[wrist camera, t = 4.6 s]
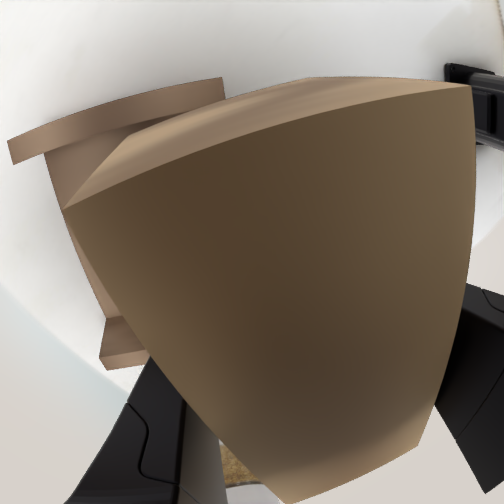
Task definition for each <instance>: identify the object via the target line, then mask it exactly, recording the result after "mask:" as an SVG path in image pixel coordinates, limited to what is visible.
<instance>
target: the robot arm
mask: <svg viewBox="0 0 504 504" xmlns="http://www.w3.org/2000/svg"><path fill="white" fill-rule="evenodd" d="M451 68H452V71H451ZM445 70H446V82H449V83H457V84H464V85H470V86H471V89H472V98H473V109H474V122H475V140H476V145H484V144H485V145H488V146H491V147H493V148H496V149H499V150H501V151H504V77H503V76H497V75H495V73H494V72H491V71H487V70H483V69H479V68H474V67H469V66H464V65H459V64H454V63H447V64H446V67H445ZM434 405H435V407H436V409H437V410H438V412H439V414H440V415H441V417H442V419H443V420H444V422H445V424H446V425H447V427H448V429H449V430H450V432H451V433H452V436H453V437H454V439H455V440H456V443H457V444H458V446H459V448H460V450H461V452H462V453H463V455H464V457H465V459H466V461H467V462H468V464H469V466H470V468H471V470H472V471H473V473H474V475H475V477H476V479H477V481H478V483H479V484H480V486H481V488H482V490H483V492H484V493H485V494H486V493H487V492H489V491H490V490H492V489H493V488H495V487H496V486H497V485H498V484H500V483H501V482H503V481H504V295H500V294H498V293H495V292H492V291H489V290H485V289H481V288H480V287H477V286H474V285H471V284H468V283H466V286H465V292H464V297H463V302H462V307H461V312H460V317H459V321H458V325H457V330H456V334H455V338H454V342H453V345H452V349H451V353H450V356H449V360H448V363H447V367H446V370H445V373H444V377H443V380H442V383H441V386H440V389H439V392H438V395H437V398H436V400H435V403H434ZM64 504H228V500H227V494H226V487H225V481H224V474H223V467H222V460H221V452H220V445H219V438H218V437H217V436H216V435H215V434H214V433H213V432H212V431H211V430H210V429H209V427H208V426H207V425H206V424H205V423H204V422H203V421H202V419H201V418H200V417H199V416H198V415H197V414H196V412H195V411H194V410H193V409H192V408H191V407H190V405H189V404H188V403H187V402H186V401H185V399H184V398H183V397H182V396H181V395H180V393H179V392H178V391H177V390H176V388H175V387H174V386H173V385H172V383H171V382H170V381H169V379H168V378H167V377H166V376H165V374H164V373H163V372H162V370H161V369H160V368H159V366H158V365H157V364H156V362H155V361H154V360H153V358H152V357H151V356H149V358H148V360H147V362H146V364H145V366H144V368H143V370H142V372H141V374H140V376H139V378H138V380H137V382H136V384H135V386H134V388H133V390H132V392H131V394H130V396H129V398H128V400H127V403H126V404H125V405H124V407H123V409H122V412H121V414H120V415H119V418H118V419H117V421H116V423H115V425H114V427H113V429H112V431H111V433H110V434H109V436H108V438H107V439H106V441H105V443H104V444H103V446H102V447H101V449H100V451H99V452H98V454H97V456H96V457H95V459H94V460H93V462H92V463H91V465H90V467H89V468H88V470H87V471H86V473H85V474H84V476H83V478H82V479H81V481H80V482H79V484H78V486H77V487H76V489H75V490H74V492H73V493H72V495H71V496H70V497H69V498H68V500H67V501H66V502H65V503H64Z"/></svg>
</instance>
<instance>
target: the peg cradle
mask: <svg viewBox="0 0 504 504" xmlns="http://www.w3.org/2000/svg"><path fill="white" fill-rule="evenodd" d="M222 100H225V93H224V87H223V80H222V77H219V78H213V79H207V80H201V81H195V82H190V83H185V84H180V85H175V86H170V87H166V88H161V89H157V90H153V91H149V92H145V93H141V94H137V95H133V96H129V97H126V98H122V99H118V100H115V101H112V102H108V103H105V104H102V105H98V106H95V107H92V108H89V109H86V110H83V111H80V112H77V113H74V114H72V115H69V116H66V117H63V118H61V119H58V120H55V121H53V122H50V123H48V124H45V125H43V126H40V127H38V128H35V129H33V130H30V131H28V132H26V133H23V134H21V135H19V136H17V137H14V138H12V139H10V140H8V141H7V143H8V147H9V151H10V155H11V158H12V162H13V165H15V164H17V163H20V162H22V161H24V160H27V159H29V158H32V157H34V156H37V155H39V154H42V153H44V156H45V160H46V164H47V167H48V171H49V174H50V178H51V181H52V184H53V187H54V191H55V194H56V197H57V200H58V203H59V206H60V209H61V210H62V209H63V208H64V207H65V205H66V204H67V203H68V202H69V200H70V199H71V198H72V197H73V196H74V194H75V193H76V192H77V191H78V190H79V188H80V187H81V186H82V185H83V184H84V183H85V182H86V180H87V179H88V178H89V177H90V176H91V175H92V174H93V172H94V171H95V170H96V169H97V168H98V167H99V166H100V165H101V164H102V163H103V161H104V160H105V159H106V158H107V157H108V156H109V155H110V154H111V153H112V152H113V151H114V150H115V149H116V148H117V147H118V146H119V145H120V144H121V143H122V142H123V141H124V140H125V139H126V138H127V137H128V136H129V135H131V134H133V133H136V132H138V131H141V130H143V129H145V128H148V127H150V126H153V125H155V124H158V123H160V122H163V121H165V120H168V119H171V118H173V117H176V116H179V115H181V114H184V113H187V112H190V111H193V110H195V109H198V108H201V107H204V106H207V105H210V104H213V103H216V102H219V101H222ZM61 212H62V211H61ZM62 215H63V213H62ZM63 217H64V215H63ZM64 220H65V223H66V226H67V229H68V231H69V234H70V237H71V239H72V242H73V244H74V247H75V249H76V252H77V254H78V257H79V259H80V262H81V264H82V267H83V269H84V271H85V274H86V276H87V278H88V280H89V283H90V285H91V287H92V289H93V292H94V294H95V296H96V298H97V300H98V302H99V304H100V307H101V309H102V311H103V313H104V315H105V317H106V323H105V328H104V333H103V338H102V343H101V349H100V355H99V359H100V360H101V362H102V364H103V365H104V367H105V368H106V370H114V369H120V368H126V367H132V366H138V365H144V364H146V362H147V360H148V358H149V356H150V354H149V353H148V352H147V350H146V349H145V348H144V346H143V345H142V343H141V342H140V341H139V339H138V338H137V336H136V335H135V333H134V332H133V331H132V329H131V328H130V326H129V325H128V323H127V322H126V320H125V319H124V317H123V316H122V314H121V313H120V311H119V310H118V308H117V307H116V305H115V304H114V302H113V300H112V299H111V297H110V296H109V294H108V293H107V291H106V289H105V288H104V286H103V285H102V283H101V281H100V280H99V278H98V276H97V275H96V273H95V271H94V270H93V268H92V266H91V264H90V263H89V261H88V259H87V258H86V256H85V254H84V252H83V250H82V249H81V247H80V245H79V243H78V241H77V240H76V238H75V236H74V234H73V232H72V230H71V228H70V227H69V225H68V223H67V221H66V219H65V217H64Z"/></svg>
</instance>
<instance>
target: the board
mask: <svg viewBox="0 0 504 504" xmlns="http://www.w3.org/2000/svg"><path fill="white" fill-rule="evenodd" d="M475 192H476V140H475V122H474V109H473V98H472V89H471V86H470V85H464V84H457V83H449V82H441V81H431V80H421V79H408V78H390V77H314V78H305V79H300V80H296V81H292V82H287V83H283V84H279V85H275V86H271V87H268V88H264V89H260V90H256V91H253V92H249V93H246V94H242V95H239V96H235V97H232V98H229V99H226V100H222V101H219V102H216V103H213V104H210V105H207V106H204V107H201V108H198V109H195V110H193V111H190V112H187V113H184V114H181V115H179V116H176V117H173V118H171V119H168V120H165V121H163V122H160V123H158V124H155V125H153V126H150V127H148V128H145V129H143V130H141V131H138V132H136V133H133V134H131V135H129V136H128V137H127V138H126V139H125V140H124V141H123V142H122V143H121V144H120V145H119V146H118V147H117V148H116V149H115V150H114V151H113V152H112V153H111V154H110V155H109V156H108V157H107V158H106V159H105V160H104V161H103V163H102V164H101V165H100V166H99V167H98V168H97V169H96V170H95V171H94V172H93V174H92V175H91V176H90V177H89V178H88V179H87V180H86V182H85V183H84V184H83V185H82V186H81V187H80V188H79V190H78V191H77V192H76V193H75V194H74V196H73V197H72V198H71V199H70V200H69V202H68V203H67V204H66V205H65V207H64V208H63V209H62V210H61V211H62V213H63V215H64V217H65V219H66V221H67V223H68V225H69V227H70V228H71V230H72V232H73V234H74V236H75V238H76V240H77V241H78V243H79V245H80V247H81V249H82V250H83V252H84V254H85V256H86V258H87V259H88V261H89V263H90V264H91V266H92V268H93V270H94V271H95V273H96V275H97V276H98V278H99V280H100V281H101V283H102V285H103V286H104V288H105V289H106V291H107V293H108V294H109V296H110V297H111V299H112V300H113V302H114V304H115V305H116V307H117V308H118V310H119V311H120V313H121V314H122V316H123V317H124V319H125V320H126V322H127V323H128V325H129V326H130V328H131V329H132V331H133V332H134V333H135V335H136V336H137V338H138V339H139V341H140V342H141V343H142V345H143V346H144V348H145V349H146V350H147V352H148V353H149V354H150V356H151V357H152V358H153V360H154V361H155V362H156V364H157V365H158V366H159V368H160V369H161V370H162V372H163V373H164V374H165V376H166V377H167V378H168V379H169V381H170V382H171V383H172V385H173V386H174V387H175V388H176V390H177V391H178V392H179V393H180V395H181V396H182V397H183V398H184V399H185V401H186V402H187V403H188V404H189V405H190V407H191V408H192V409H193V410H194V411H195V412H196V414H197V415H198V416H199V417H200V418H201V419H202V421H203V422H204V423H205V424H206V425H207V426H208V427H209V429H210V430H211V431H212V432H213V433H214V434H215V435H216V436H217V437H218V438H219V440H220V441H221V442H222V443H223V444H224V445H225V446H226V447H227V448H228V449H229V450H230V451H231V452H232V453H233V454H234V455H235V456H236V458H237V459H238V460H239V461H240V462H241V463H242V464H243V465H244V466H245V467H246V468H247V469H248V470H249V471H250V472H251V473H252V474H253V475H254V476H256V477H257V478H258V479H259V480H260V481H261V482H262V483H263V484H264V485H265V486H266V487H267V488H268V489H269V490H270V491H271V492H272V493H274V494H275V495H276V496H277V497H278V498H279V499H280V500H281V501H283V502H284V503H285V504H293V503H296V502H299V501H302V500H305V499H308V498H310V497H313V496H316V495H318V494H321V493H323V492H326V491H328V490H331V489H333V488H335V487H338V486H340V485H343V484H345V483H347V482H349V481H351V480H354V479H356V478H358V477H360V476H362V475H365V474H367V473H369V472H371V471H373V470H375V469H377V468H379V467H380V466H382V465H384V464H386V463H388V462H390V461H392V460H394V459H396V458H398V457H399V456H401V455H403V454H405V453H406V452H408V451H410V450H411V449H413V448H415V447H416V446H418V443H419V441H420V439H421V436H422V434H423V431H424V429H425V426H426V424H427V421H428V419H429V416H430V414H431V411H432V409H433V406H434V403H435V400H436V398H437V395H438V392H439V389H440V386H441V383H442V380H443V377H444V373H445V370H446V367H447V363H448V360H449V356H450V353H451V349H452V345H453V342H454V338H455V334H456V330H457V325H458V321H459V317H460V312H461V307H462V302H463V297H464V292H465V286H466V280H467V274H468V268H469V261H470V260H469V259H470V253H471V245H472V235H473V225H474V212H475Z"/></svg>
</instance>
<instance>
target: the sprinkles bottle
mask: <svg viewBox="0 0 504 504" xmlns="http://www.w3.org/2000/svg"><path fill="white" fill-rule="evenodd" d="M219 445H220V452H221V460H222V467H223V474H224V481H225V487H226V494H227V500H228V504H279V500H278V497H277V496H276V495H275V494H274V493H272V492H271V491H270V490H269V489H268V488H267V487H266V486H265V485H264V484H263V483H262V482H261V481H260V480H259V479H258V478H257V477H256V476H254V475H253V474H252V473H251V472H250V471H249V470H248V469H247V468H246V467H245V466H244V465H243V464H242V463H241V462H240V461H239V460H238V459H237V458H236V456H235V455H234V454H233V453H232V452H231V451H230V450H229V449H228V448H227V447H226V446H225V445H224V444H223V443H222V442H221V441H220V440H219Z"/></svg>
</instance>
